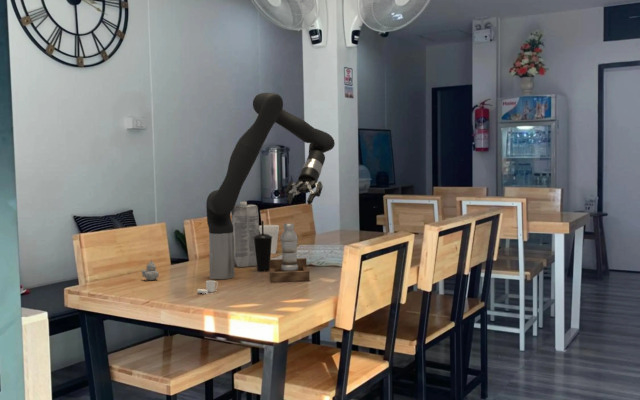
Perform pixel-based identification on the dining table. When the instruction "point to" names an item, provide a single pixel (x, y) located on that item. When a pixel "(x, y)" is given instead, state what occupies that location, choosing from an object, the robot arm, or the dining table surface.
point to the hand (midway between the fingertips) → (298, 202)
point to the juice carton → (245, 234)
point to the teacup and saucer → (208, 287)
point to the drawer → (288, 275)
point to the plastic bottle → (289, 248)
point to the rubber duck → (150, 272)
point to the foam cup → (273, 232)
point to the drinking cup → (263, 250)
